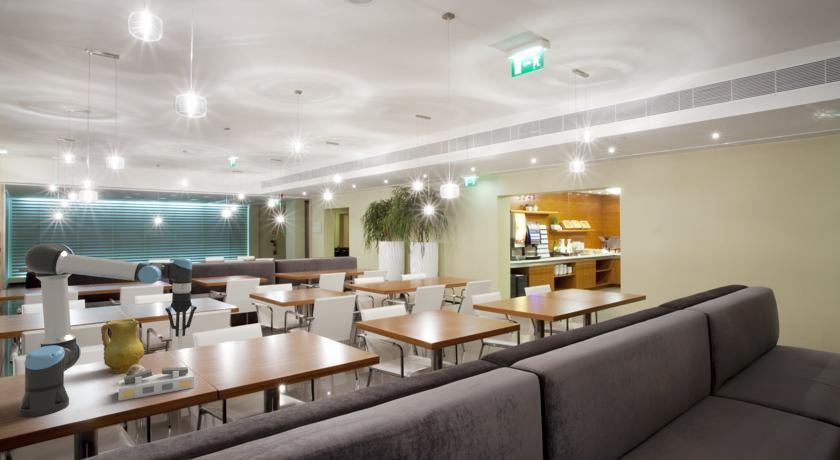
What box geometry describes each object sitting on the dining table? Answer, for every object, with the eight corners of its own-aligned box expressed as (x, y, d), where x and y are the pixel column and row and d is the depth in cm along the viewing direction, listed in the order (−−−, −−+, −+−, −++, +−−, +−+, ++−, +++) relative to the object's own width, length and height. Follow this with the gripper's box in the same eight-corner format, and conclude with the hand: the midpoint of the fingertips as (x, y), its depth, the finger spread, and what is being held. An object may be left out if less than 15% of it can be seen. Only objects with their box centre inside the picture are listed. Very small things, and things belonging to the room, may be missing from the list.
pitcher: (113, 376, 208) (114, 323, 210) (95, 371, 218) (96, 321, 219) (150, 368, 223) (151, 318, 224) (132, 363, 233) (133, 316, 234)
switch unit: (118, 401, 180) (118, 382, 180) (118, 391, 190) (118, 373, 190) (194, 387, 196) (194, 370, 196) (190, 379, 206) (190, 363, 206)
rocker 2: (162, 374, 192) (163, 370, 192) (161, 371, 197) (162, 367, 197) (187, 373, 198) (188, 369, 198) (186, 370, 202) (186, 366, 202)
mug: (144, 383, 202) (132, 365, 201) (132, 389, 205) (120, 372, 204) (158, 374, 209) (146, 356, 208) (145, 380, 212) (134, 363, 211)
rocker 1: (124, 384, 184) (124, 380, 184) (124, 380, 189) (124, 376, 189) (152, 376, 190) (151, 372, 190) (151, 372, 194) (150, 368, 194)
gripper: (166, 293, 194) (164, 347, 193) (198, 292, 201) (196, 343, 201) (164, 291, 200) (163, 343, 200) (196, 290, 207) (194, 340, 207)
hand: (180, 343), depth 200 cm, fingers closed
